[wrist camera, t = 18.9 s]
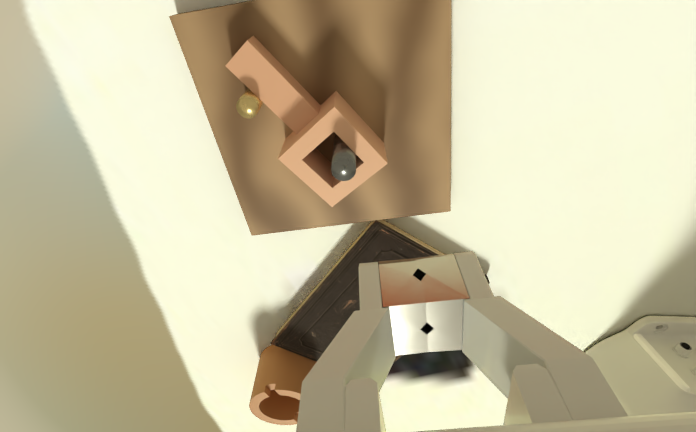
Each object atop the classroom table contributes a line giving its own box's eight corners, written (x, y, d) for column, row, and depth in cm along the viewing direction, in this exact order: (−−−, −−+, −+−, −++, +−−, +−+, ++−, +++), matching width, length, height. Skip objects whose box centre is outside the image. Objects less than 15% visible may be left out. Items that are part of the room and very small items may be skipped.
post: (353, 126, 31) (354, 157, 26) (356, 146, 32) (357, 179, 27) (332, 129, 31) (329, 160, 26) (335, 148, 32) (333, 182, 27)
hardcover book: (273, 329, 49) (270, 344, 47) (374, 208, 38) (375, 221, 36) (371, 368, 54) (372, 383, 52) (485, 271, 43) (491, 286, 41)
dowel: (262, 84, 29) (254, 95, 27) (268, 104, 30) (260, 116, 28) (243, 87, 29) (233, 98, 27) (249, 107, 30) (240, 119, 28)
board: (446, -35, 26) (451, -35, 25) (447, 202, 37) (450, 211, 36) (177, 13, 28) (169, 16, 27) (254, 226, 39) (251, 235, 38)
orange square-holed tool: (268, 17, 27) (257, 25, 23) (383, 142, 32) (387, 163, 29) (218, 75, 29) (201, 90, 26) (333, 183, 34) (331, 207, 31)
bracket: (248, 351, 51) (236, 399, 46) (301, 334, 49) (294, 383, 44) (311, 412, 60) (307, 459, 55) (357, 401, 58) (358, 448, 53)
